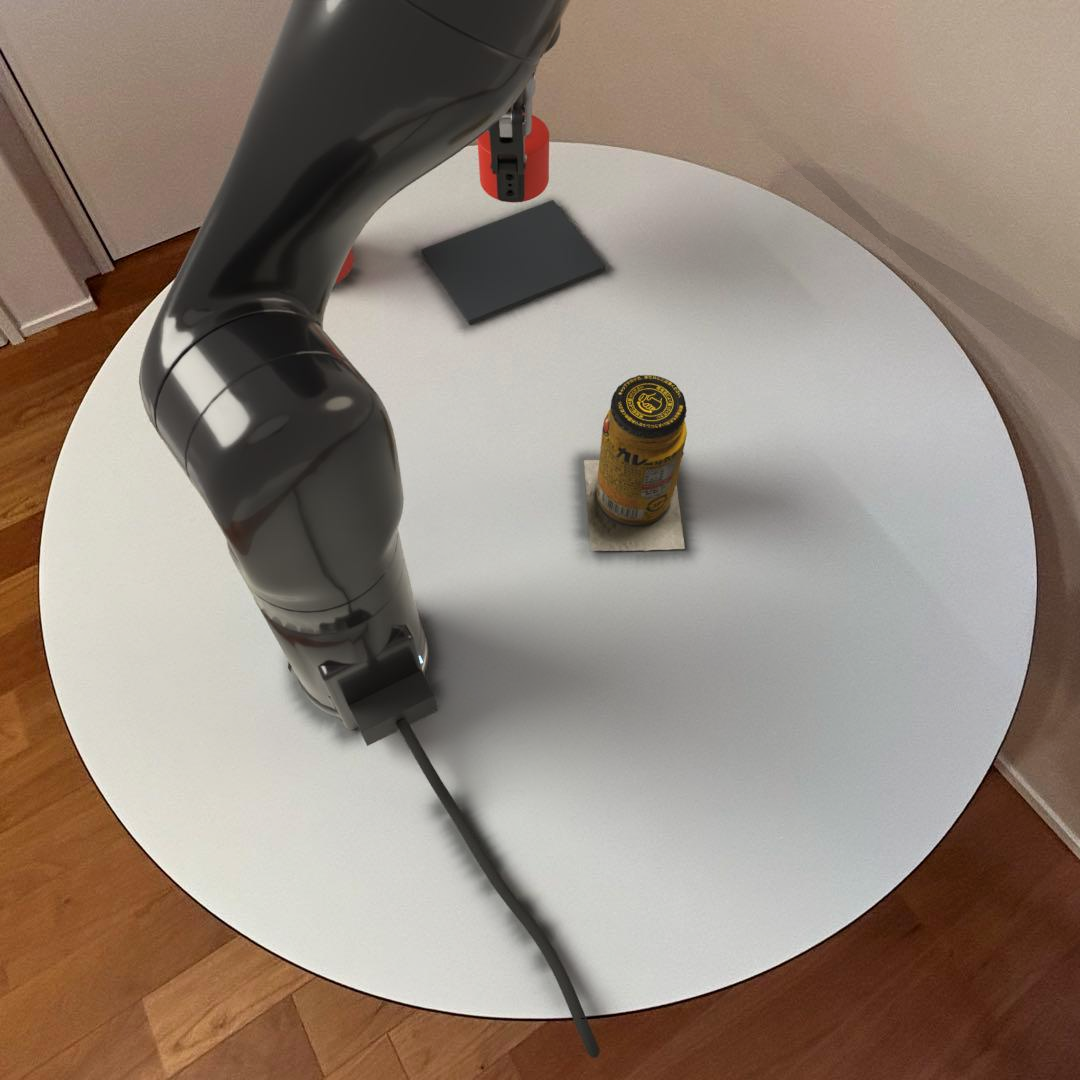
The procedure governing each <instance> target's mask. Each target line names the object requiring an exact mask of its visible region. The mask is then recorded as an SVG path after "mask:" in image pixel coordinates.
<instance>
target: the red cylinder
mask: <svg viewBox="0 0 1080 1080" xmlns="http://www.w3.org/2000/svg"><path fill="white" fill-rule="evenodd" d="M523 115H525V113H524V112H523ZM476 141H477V151H478V152H477V156H478V171H479V183H480V186H481V188H482V190H483V191H484V192H485V193H486V194H487V195H488V196H489V197H491V198H493V199H495V200H497V201H500V200H499V199H498V197H497V177H496V174H492V169H491V168H490V163H491V148H490V134H489V133H488V132H487V131H486V132H485V133H483V134H482V135H481V136H480V137H479V138H477V139H476ZM525 154H527V161H525V163H526V170H524V177H525V196H524V200H523V201H521V202H520V203H524V202H527V201H531V200H533V199H535V198H537V197H538V196H540V195H541V194H542V193H543V192H544V191H546V188H547V187H548V186H549V185H548V184H549V181H550V131H549V128H548V126H547V125H546V123H545V122H544V121H543V120H541V118H539V117H538V116H536V115H534V114H532V129H531V133H530V134H529V135H527V136H526V137H525ZM511 203H512V204H513V203H516V202H511Z"/></svg>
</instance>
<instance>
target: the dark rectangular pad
mask: <svg viewBox="0 0 1080 1080" xmlns="http://www.w3.org/2000/svg"><path fill="white" fill-rule="evenodd" d="M420 252H421V255H422V257H423V258H424V260H425V261H426V263H427V264H428V265H429V267H430V268H431V270H432V272H433V273H434V274H435V276H436V277H437V279H438V281H439V282H440V284H441V285H442V287H443V288H444V289H445V291H446V293H447V294H448V295H449V297H450V298H451V300H452V302H453V304H455V306H456V307H457V309H458V310H459V312H460V314H461V315H462V316H463V318H464V319H465V321H466V322H467V324H468V325H469V326H471V325H473V324H475V323H478V322H481V321H483V320H486V319H488V318H492V317H493V316H495V315H497V314H501V313H504V312H506V311H508V310H510V309H513V308H516V307H518V306H521V305H523V304H526V303H528V302H530V301H532V300H536V299H538V298H540V297H543V296H545V295H548V294H551V293H553V292H556V291H558V290H561V289H563V288H565V287H568V286H571V285H573V284H576V283H578V282H580V281H584V280H585V279H588V278H590V277H593V276H595V275H598V274H600V273H603V272H606V264H605V263H604V262H603V261H602V259H601V258H600V257H599V256H598V254H597V253H596V252H595V251H594V249H593V248H592V247H591V246H590V245H589V243H588V242H587V240H585V238H584V237H583V236H582V234H581V233H580V232H579V231H578V229H577V228H576V227H575V226H574V224H573V223H572V221H570V219H569V218H568V216H567V215H566V214H565V213H564V212H563V210H562V209H561V208H560V207H559V206H558V204H557V203H556V202H555V201H554V199H552V200H551V199H550V200H549V201H546V202H544V203H541V204H539V205H536V206H533V207H530V208H527V209H525V210H522V211H520V212H517V213H514V214H512V215H511V214H510V215H509V216H506V217H503V218H501V219H498V220H495V221H493V222H490V223H487V224H484V225H482V226H480V227H476V228H474V229H472V230H469V231H466V232H463V233H461V234H458V235H455V236H453V237H450V238H446V239H445V240H442V241H440V242H436V243H435V244H432V245H429V246H425V247H424V248H421V251H420Z"/></svg>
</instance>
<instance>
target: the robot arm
mask: <svg viewBox="0 0 1080 1080" xmlns="http://www.w3.org/2000/svg"><path fill="white" fill-rule="evenodd" d="M570 2H571V0H290V2H289V6H288V8H287V12H286V14H285V17H284V19H283V22H282V25H281V28H280V31H279V34H278V37H277V39H276V42H275V44H274V47H273V49H272V52H271V54H270V57H269V59H268V62H267V65H266V67H265V69H264V73H263V75H262V78H261V80H260V82H259V85H258V87H257V88H258V89H257V91H256V93H255V95H254V98H253V101H252V103H251V107H250V109H249V112H248V113H247V114H248V115H247V117H246V120H245V122H244V126H243V127H242V130H241V134H240V137H239V139H238V142H237V144H236V147H235V148H234V149H235V150H234V152H233V154H232V157H231V160H230V162H229V165H228V167H227V170H226V172H225V174H224V176H223V179H222V181H221V183H220V185H219V188H218V190H217V191H216V194H215V196H214V198H213V201H212V203H211V205H210V207H209V208H208V211H207V212H206V215H205V217H204V219H203V221H202V223H201V225H200V227H199V230H198V232H197V234H196V235H195V237H194V240H193V242H192V244H191V246H190V248H189V250H188V252H187V253H186V255H185V258H184V260H183V262H182V264H181V266H180V268H179V270H178V272H177V274H176V276H175V278H174V280H173V282H172V284H171V287H170V288H169V290H168V292H167V294H166V297H165V299H164V300H163V303H162V304H161V307H160V309H159V311H158V313H157V315H156V318H155V320H154V322H153V325H152V327H151V330H150V332H149V335H148V338H147V339H146V343H145V346H144V349H143V353H142V357H141V361H140V368H139V374H138V375H139V376H138V383H139V384H138V385H139V391H140V397H141V401H142V404H143V407H144V410H145V413H146V416H147V417H148V420H149V421H150V423H151V424H152V427H153V428H154V429H155V431H156V432H157V435H158V436H159V438H160V439H161V440H162V442H163V444H164V445H165V447H166V448H167V449H168V451H169V452H170V454H171V455H172V457H173V458H174V459H175V461H176V462H177V464H178V465H179V467H180V468H181V469H182V470H181V471H183V473H184V474H185V475H186V477H187V478H188V480H189V481H190V483H191V484H192V486H193V487H194V488H195V490H196V491H197V493H198V494H199V496H200V497H201V499H202V500H203V503H204V504H205V505H206V507H207V508H208V510H209V511H210V513H211V515H212V517H213V518H214V521H215V522H216V524H217V525H218V527H219V529H220V530H221V533H222V534H223V536H224V537H225V540H226V546H227V550H228V553H229V556H230V558H231V560H232V562H233V564H234V566H235V567H236V569H237V571H238V574H239V575H240V576H241V578H242V580H243V581H244V583H245V585H246V587H247V588H248V590H249V592H250V594H251V596H252V597H253V600H254V601H255V604H256V605H257V607H258V608H259V611H260V612H261V614H262V616H263V618H264V620H265V621H266V623H267V625H268V627H269V629H270V631H271V633H272V634H273V636H274V637H275V639H276V641H277V643H278V645H279V647H280V648H281V650H282V652H283V654H284V655H285V658H286V659H287V661H288V663H287V664H288V665H287V669H288V670H289V672H290V673H292V670H293V672H294V674H295V676H296V678H297V680H298V683H299V685H300V687H301V689H302V690H303V692H304V694H305V695H306V697H307V698H308V699H309V701H310V702H311V703H312V704H313V705H314V706H315V707H316V708H318V709H319V710H320V711H322V712H324V713H326V714H327V715H330V716H331V717H332V716H333V717H335V718H338V719H340V720H341V721H342V722H343V725H344V726H345V728H346V729H347V731H354V730H355V729H357V728H358V729H359V731H360V734H361V736H362V738H363V740H364V742H365V744H366V747H368V746H370V745H372V744H374V743H377V742H378V741H381V740H382V739H384V738H387V737H388V736H391V735H392V734H394V733H396V732H398V731H399V732H400V734H401V736H402V738H403V739H404V741H405V743H406V744H407V746H408V748H409V750H410V752H411V753H412V756H413V757H414V759H415V761H416V763H417V764H418V766H419V768H420V770H421V771H422V773H423V775H424V776H425V778H426V780H427V782H428V783H429V785H430V787H431V788H432V790H433V791H434V793H435V795H436V796H437V798H438V799H439V801H440V802H441V804H442V805H443V807H444V809H445V810H446V812H447V813H448V815H449V817H450V819H451V820H452V822H453V823H454V825H455V827H456V829H457V830H458V831H459V833H460V835H461V837H462V838H463V840H464V842H465V844H466V845H467V847H468V848H469V850H470V852H471V854H472V856H473V857H474V859H475V860H476V862H477V863H478V865H479V867H480V868H481V870H482V871H483V873H484V875H485V876H486V878H487V879H488V881H489V882H490V884H491V885H492V887H493V889H494V890H495V891H496V893H497V894H498V895H499V897H500V898H501V899H502V901H503V902H504V903H505V905H506V906H507V907H508V909H509V910H510V911H511V912H512V914H513V915H514V916H515V917H516V918H517V920H518V921H519V922H520V923H521V925H522V926H523V927H524V929H525V930H526V931H527V933H528V934H529V935H530V937H531V939H532V940H533V941H534V943H535V944H536V946H537V948H538V949H539V950H540V952H541V954H542V955H543V957H544V959H545V961H546V962H547V965H548V966H549V968H550V970H551V972H552V975H553V976H554V978H555V980H556V982H557V984H558V987H559V989H560V991H561V993H562V996H563V998H564V1000H565V1003H566V1005H567V1008H568V1010H569V1012H570V1015H571V1018H572V1019H573V1020H572V1021H573V1023H574V1024H575V1027H576V1029H577V1032H578V1034H579V1037H580V1040H581V1041H582V1044H583V1046H584V1048H585V1050H586V1052H587V1054H588V1056H590V1057H591V1058H592V1059H596V1058H598V1057H599V1055H600V1051H601V1050H600V1046H599V1045H598V1042H597V1040H596V1037H595V1034H594V1033H593V1030H592V1028H591V1026H590V1022H589V1021H588V1019H587V1016H586V1014H585V1011H584V1009H583V1007H582V1004H581V1001H580V998H579V997H578V994H577V992H576V990H575V988H574V985H573V983H572V980H571V978H570V976H569V974H568V972H567V970H566V968H565V966H564V964H563V962H562V961H561V959H560V957H559V955H558V953H557V951H556V949H555V948H554V946H553V944H552V943H551V942H550V940H549V938H548V937H547V935H546V934H545V932H544V931H543V930H542V928H541V927H540V926H539V923H537V921H536V920H535V919H534V917H533V916H532V914H530V912H529V911H528V910H527V908H526V907H525V906H524V904H522V902H521V901H520V900H519V898H517V896H516V895H515V893H514V892H513V891H512V890H511V888H510V887H509V886H508V884H507V882H506V880H504V878H503V877H502V876H501V874H500V872H499V871H498V869H497V868H496V866H495V864H493V862H492V860H491V859H490V857H489V855H488V854H487V852H486V851H485V849H484V848H483V846H482V844H481V843H480V840H479V839H478V838H477V835H476V834H475V833H474V831H473V829H472V827H471V826H470V824H469V822H468V820H467V819H466V817H465V816H464V814H463V811H461V809H460V808H459V806H458V804H457V803H456V801H455V799H454V797H453V796H452V795H451V793H450V792H449V790H448V788H447V787H446V785H445V783H444V782H443V780H442V779H441V777H440V775H439V773H438V772H437V770H436V769H435V767H434V765H433V764H432V762H431V760H430V758H429V756H428V755H427V753H426V751H425V750H424V748H423V746H422V744H421V742H420V741H419V739H418V737H417V735H416V734H415V732H414V730H413V728H412V726H411V725H412V724H415V723H416V722H418V721H421V720H423V719H425V718H426V717H428V716H430V715H432V714H435V713H437V712H438V711H439V707H438V703H437V699H436V695H435V693H434V691H433V688H432V687H431V685H430V683H429V681H428V680H427V677H426V676H425V675H426V672H427V667H428V661H429V647H428V642H427V637H426V634H425V630H424V629H423V626H422V623H421V622H422V621H421V619H420V616H419V612H418V608H417V604H416V599H415V595H414V591H413V587H412V583H411V577H410V573H409V570H408V565H407V561H406V557H405V554H404V549H403V543H402V540H401V535H400V531H399V526H400V522H401V519H402V515H403V513H404V512H403V511H404V506H405V505H404V504H405V503H404V501H405V498H404V488H403V481H402V473H401V468H400V467H401V466H400V460H399V454H398V447H397V442H396V436H395V432H394V428H393V425H392V424H393V423H392V421H391V419H390V416H389V413H388V411H387V408H386V406H385V404H384V403H383V400H382V399H381V397H380V396H379V394H378V392H376V391H375V388H374V387H373V386H371V384H370V383H369V382H368V381H367V380H366V378H365V377H364V376H363V374H362V373H360V371H359V370H358V369H357V368H356V367H355V366H354V364H353V363H352V362H351V361H350V360H349V358H348V357H347V356H346V354H344V353H343V352H342V350H341V349H340V348H339V347H338V346H337V344H336V343H335V342H334V341H333V340H332V338H331V337H330V336H329V335H328V333H327V332H326V331H324V317H325V312H326V309H327V306H328V303H329V300H330V297H331V294H332V291H333V289H334V286H335V285H336V284H335V282H336V279H337V277H338V274H339V272H340V270H341V268H342V266H343V264H344V262H345V260H346V258H347V256H348V254H349V252H350V250H351V248H352V249H353V246H354V244H355V243H356V241H357V239H358V237H360V234H361V233H362V231H363V230H364V228H365V226H366V225H367V224H368V222H369V221H370V220H371V218H372V217H373V216H374V214H376V212H378V211H379V210H380V209H381V208H382V207H383V206H384V205H385V204H386V203H387V202H388V201H389V200H390V199H392V198H393V197H395V196H396V195H397V194H399V193H400V192H402V191H403V190H404V189H405V188H407V187H409V186H410V185H412V184H413V183H415V182H416V181H418V180H419V179H421V178H423V177H424V176H425V175H427V174H428V173H430V172H431V171H433V170H435V169H436V168H438V167H439V166H440V165H442V164H444V163H445V162H446V161H448V160H450V159H451V158H453V157H454V156H455V155H457V154H458V153H460V152H461V151H462V150H464V149H465V148H467V147H468V146H469V145H470V144H472V143H473V142H475V141H477V138H479V137H480V136H481V135H482V134H483V133H485V132H486V131H487V132H488V133H489V134H490V148H491V163H490V168H491V169H492V174H496V177H497V197H498V199H499V200H498V201H500V202H504V203H512V202H515V203H522V202H521V201H523V200H524V196H525V177H524V170H526V163H525V161H527V154H525V137H526V136H527V135H529V134H530V133H531V129H532V115H533V96H534V94H535V92H536V80H537V79H536V76H537V75H536V72H537V68H538V66H539V63H540V62H541V59H543V56H544V55H545V54H546V53H548V52H549V51H550V50H551V49H552V48H553V47H554V46H555V45H556V43H557V41H558V40H559V37H560V34H561V28H562V27H561V25H562V23H561V22H562V18H563V17H564V14H565V12H566V10H567V8H568V6H569V4H570ZM523 112H524V113H525V115H523ZM334 284H335V285H334ZM581 1018H585V1019H581Z"/></svg>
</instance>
